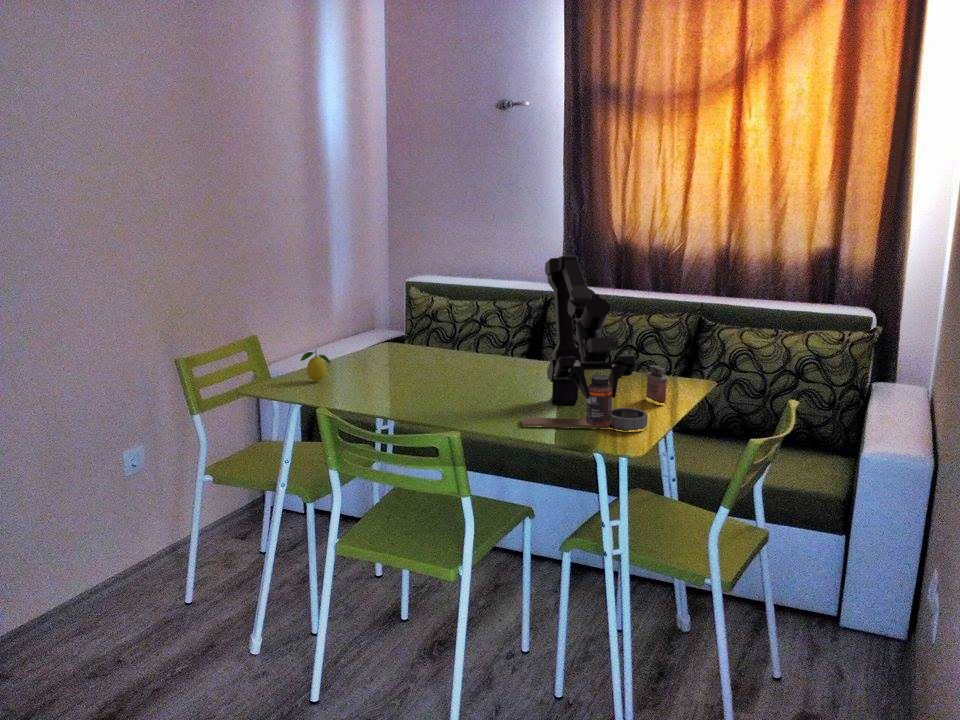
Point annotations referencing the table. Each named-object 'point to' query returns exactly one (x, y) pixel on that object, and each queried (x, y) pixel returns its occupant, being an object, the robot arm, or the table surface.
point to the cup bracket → (620, 421)
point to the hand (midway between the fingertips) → (601, 397)
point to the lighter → (656, 384)
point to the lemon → (316, 366)
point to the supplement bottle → (599, 401)
